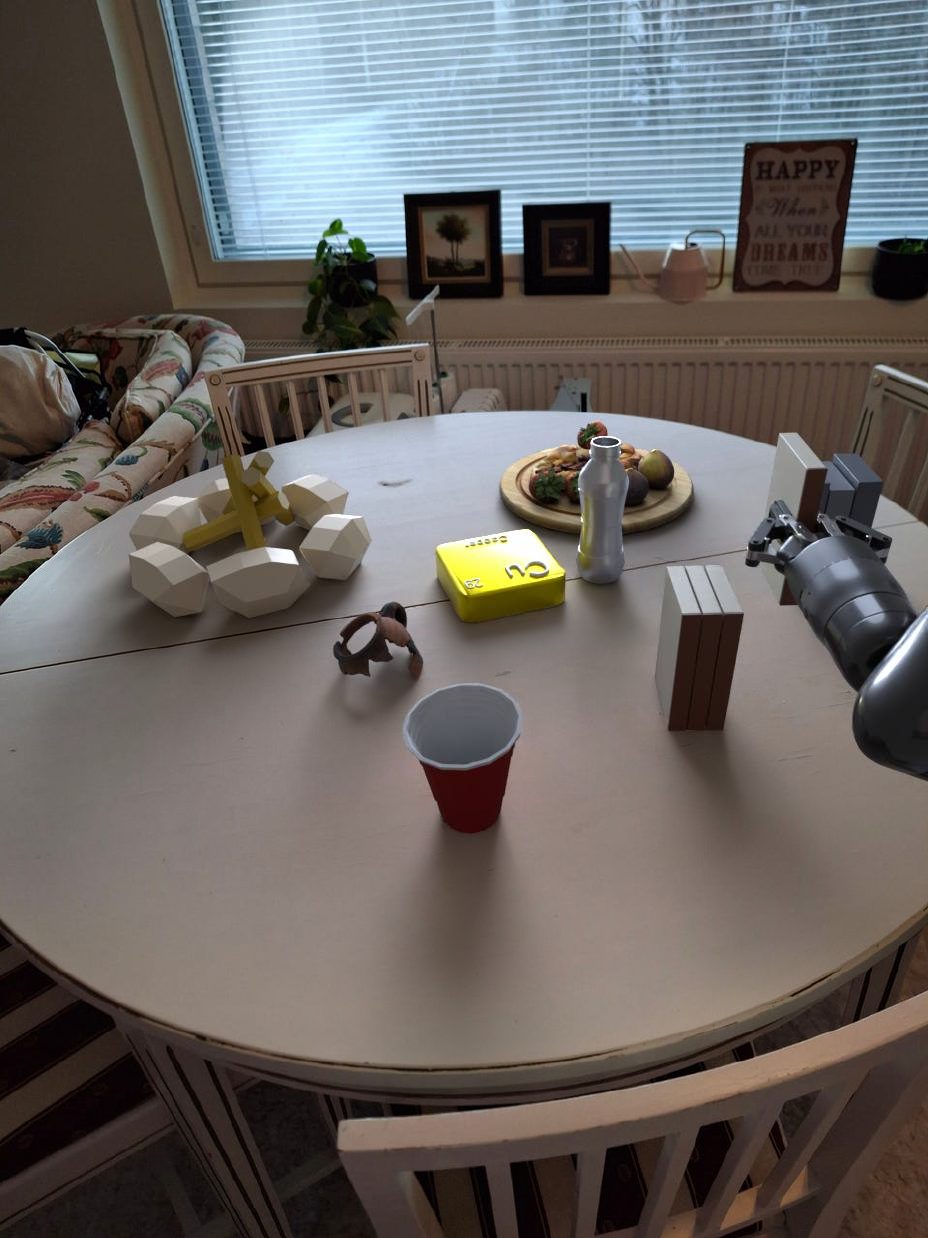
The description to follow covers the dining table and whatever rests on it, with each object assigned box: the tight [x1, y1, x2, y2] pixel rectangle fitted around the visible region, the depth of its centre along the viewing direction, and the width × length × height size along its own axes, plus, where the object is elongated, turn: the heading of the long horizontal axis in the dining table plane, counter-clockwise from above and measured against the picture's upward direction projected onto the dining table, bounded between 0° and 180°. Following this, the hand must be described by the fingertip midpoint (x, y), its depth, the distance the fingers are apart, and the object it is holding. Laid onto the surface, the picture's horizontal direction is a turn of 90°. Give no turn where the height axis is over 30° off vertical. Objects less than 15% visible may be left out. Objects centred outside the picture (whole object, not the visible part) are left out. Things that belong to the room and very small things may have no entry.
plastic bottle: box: [575, 436, 629, 585], centre depth 107 cm, size 6×7×20 cm
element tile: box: [434, 529, 567, 624], centre depth 110 cm, size 15×15×5 cm
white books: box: [654, 564, 745, 732], centre depth 85 cm, size 6×9×15 cm, turn 178°
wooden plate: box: [498, 421, 695, 535], centre depth 132 cm, size 32×32×8 cm
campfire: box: [128, 450, 373, 619], centre depth 116 cm, size 35×34×17 cm
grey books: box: [819, 452, 884, 537], centre depth 107 cm, size 9×9×15 cm
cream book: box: [758, 432, 828, 607], centre depth 82 cm, size 2×9×15 cm, turn 178°
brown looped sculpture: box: [332, 601, 424, 679], centre depth 97 cm, size 12×10×8 cm
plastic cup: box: [401, 682, 524, 835], centre depth 74 cm, size 11×11×12 cm
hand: (788, 507), depth 82 cm, fingers closed on cream book, 2 cm apart
